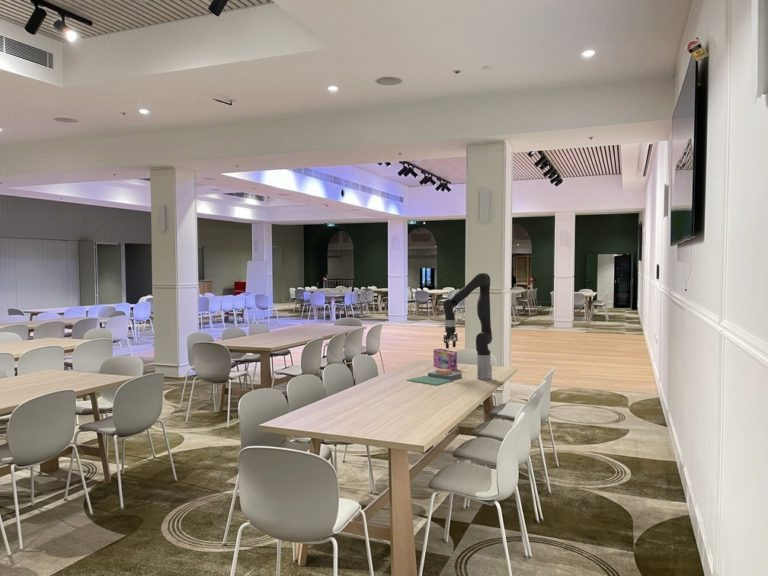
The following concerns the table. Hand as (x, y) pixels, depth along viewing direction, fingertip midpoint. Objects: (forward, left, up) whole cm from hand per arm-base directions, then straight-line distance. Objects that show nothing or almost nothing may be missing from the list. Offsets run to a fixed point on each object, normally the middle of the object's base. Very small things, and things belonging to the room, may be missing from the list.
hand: (450, 347), depth 420 cm
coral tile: (-1, +10, -17) cm, 20 cm away
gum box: (+22, -23, -21) cm, 38 cm away
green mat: (-1, +27, -20) cm, 34 cm away
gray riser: (-1, +9, -20) cm, 22 cm away
